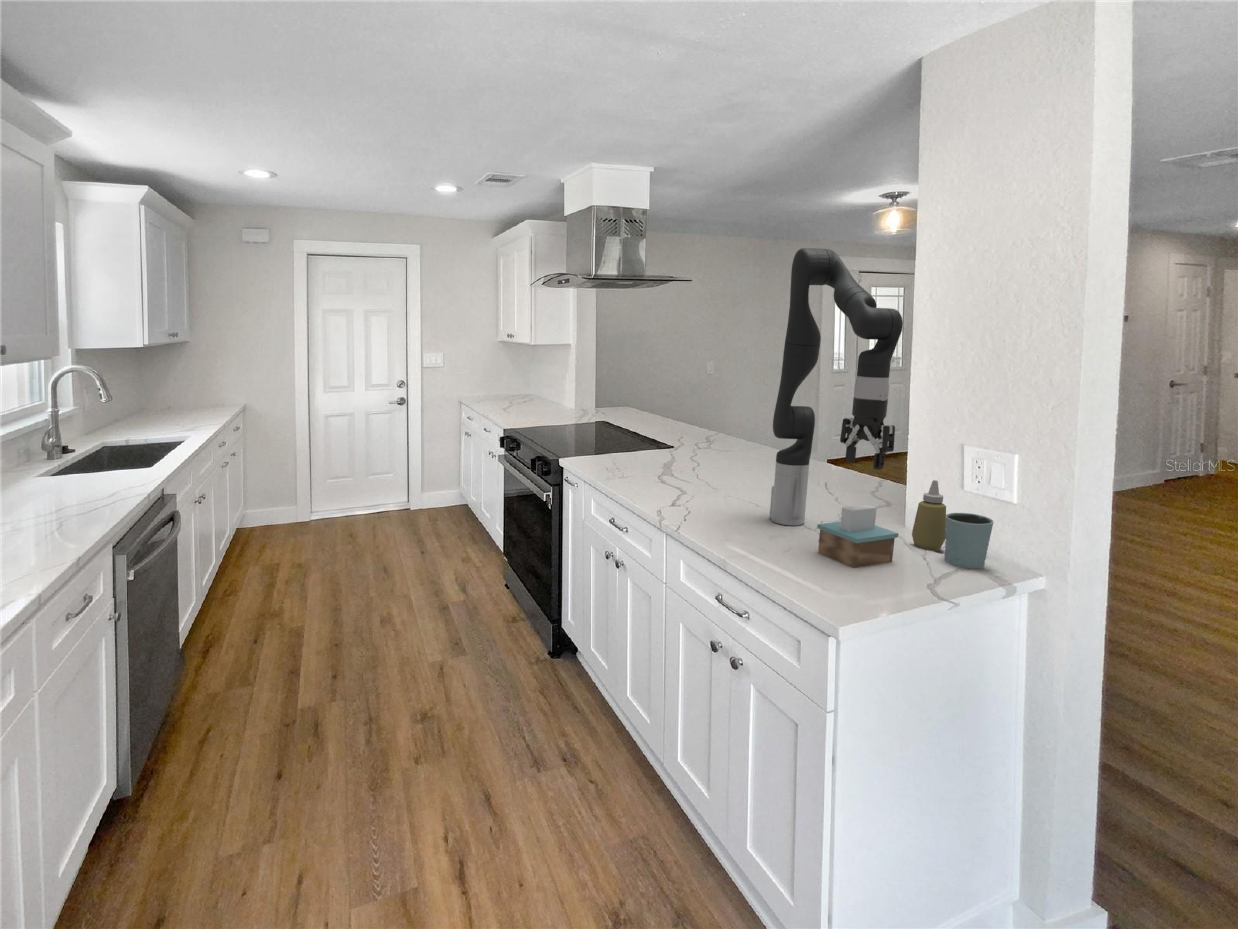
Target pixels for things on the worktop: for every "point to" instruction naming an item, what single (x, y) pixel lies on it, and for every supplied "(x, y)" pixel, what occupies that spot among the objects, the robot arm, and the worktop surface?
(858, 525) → the lid
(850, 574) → the worktop surface
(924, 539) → the squeeze bottle
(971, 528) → the grey-blue cup
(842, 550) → the walnut box
